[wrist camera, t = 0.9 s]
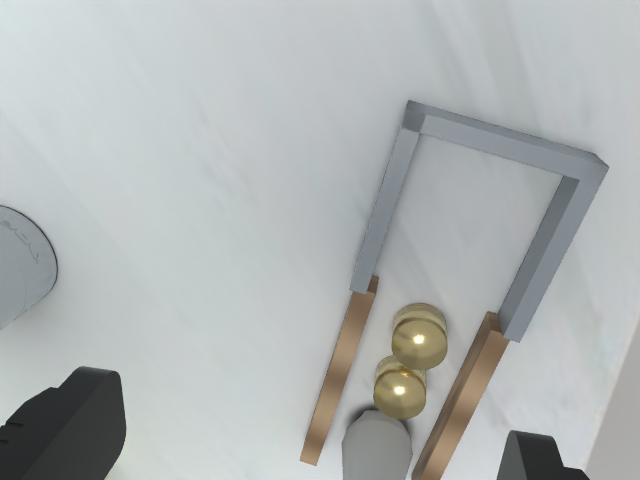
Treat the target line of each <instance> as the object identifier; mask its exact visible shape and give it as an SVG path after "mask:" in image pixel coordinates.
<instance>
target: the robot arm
mask: <svg viewBox="0 0 640 480" xmlns="http://www.w3.org/2000/svg"><path fill="white" fill-rule="evenodd" d="M56 273H57V267H56V259H55V256H54V253H53V250H52V248H51V246H50V244H49V242H48V240H47V239H46V237H45V236H44V235H43V234H42V232H41V231H40V230H39V229H38V228H37V227H36V226H35V225H34V224H33V223H32V222H31V221H30V220H28V219H27V218H26V217H24V216H23V215H21V214H20V213H18V212H15V211H13V210H11V209H9V208H5V207H2V206H0V330H1V329H3V328H4V327H5V326H6V325H8V324H9V323H10V322H12V321H13V320H14V319H16V318H17V317H18V316H20V315H21V314H22V313H24V312H25V311H26V310H27V309H29V308H30V307H31V306H33V305H34V304H35V303H36V302H38V301H39V300H40V299H42V298H43V297H44V296H45V295H47V294H48V293H49V291H50V290H51V289H52V287H53V285H54V283H55V280H56ZM125 437H126V420H125V411H124V403H123V394H122V386H121V379H120V375H119V374H118V372H116V371H111V370H104V369H98V368H91V367H85V366H81V367H79V368H77V369H76V370H75V371H74V372H73V373H72V374H71V375H70V376H69V377H68V378H67V379H66V380H65V381H64V382H63V383H62V385H61V386H60V387H59V388H53V387H50V388H48V389H46V390H45V391H43V392H41V393H39V394H38V395H36V396H34V397H33V398H31V399H29V400H28V401H26V402H25V403H24V404H23V405H22V406H21V407H20V408H19V409H18V410H17V411H16V412H15V413H14V414H13V415H12V416H11V417H10V418H9V419H8V420H7V421H6V424H5V426H3V425H2V426H1V427H0V480H104V479H105V477H106V476H107V474H108V473H109V471H110V470H111V468H112V467H113V465H114V463H115V462H116V460H117V459H118V457H119V455H120V453H121V451H122V448H123V445H124V442H125ZM497 480H590V479H589V478H588V477H587V476H586V474H585V473H584V472H583V471H582V470H580V469H574V468H568V467H564V466H563V463H562V460H561V457H560V454H559V451H558V448H557V445H556V442H555V440H554V438H553V437H552V436H547V435H541V434H534V433H527V432H521V431H514V430H511V431H510V433H509V435H508V437H507V441H506V445H505V449H504V453H503V456H502V460H501V464H500V468H499V472H498V476H497Z"/></svg>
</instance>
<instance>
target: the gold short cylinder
mask: <svg viewBox="0 0 640 480" xmlns="http://www.w3.org/2000/svg"><path fill="white" fill-rule="evenodd" d="M373 398H374V403H375V405H376V407H377V408H378V409H379V410H380V411H381V412H382V413H383V414H385V415H387V416H389V417H391V418H395V419H409V418H412V417H415V416H417V415H418V414H419V413H420V412H421V411H422V410H423V409H424V407H425V403H426V373H425V370H415V369H411V368H408V367H406V366H404V365H403V364H401V363H400V362H399V361H398V360H397V359H396V358H395V356H394V355H392V356H389V357H387V358H385V359H384V360H382V361H381V362H380V364H379V365H378V368H377V372H376V379H375V387H374V395H373Z"/></svg>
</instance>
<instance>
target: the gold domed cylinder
mask: <svg viewBox="0 0 640 480" xmlns="http://www.w3.org/2000/svg"><path fill="white" fill-rule="evenodd" d="M392 351H393V354H394V356H395V358H396V359H397V360H398V361H399V362H400V363H401V364H403V365H404V366H406V367H408V368H411V369H415V370H427V369H431V368H433V367H435V366H437V365H439V364H440V363H441V362H442V361H443V360H444V358H445V356H446V354H447V333H446V322H445V319H444V317H443V315H442V314H441V312H440V311H439V310H437V309H436V308H435V307H433V306H430V305H428V304H423V303H415V304H410V305H407V306H405V307H404V308H402V309H401V310H400V311H399V312H398V313H397V315H396V317H395V319H394V326H393V336H392Z"/></svg>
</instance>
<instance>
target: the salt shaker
mask: <svg viewBox="0 0 640 480" xmlns="http://www.w3.org/2000/svg"><path fill="white" fill-rule="evenodd" d="M412 455H413V452H412V446H411V439H410V436H409V434H408V432H407V431H406V429H405V427H404V425H403V423H402V422H401V421H400V420H399V419H395V418H391V417H389V416H387V415H385V414H383V413H382V412H381V411H380V410H365V411H364V413H363V414H362V415H361V416H360V417H359V418H358V419H357V420H356V421H355V422H354V423H353V424H351V425H350V426H349V427H348V428H347V431H346V434H345V436H344V439H343V441H342V462H343V480H405V478H406V475H407V472H408V468H409V465H410V462H411V458H412Z"/></svg>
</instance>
